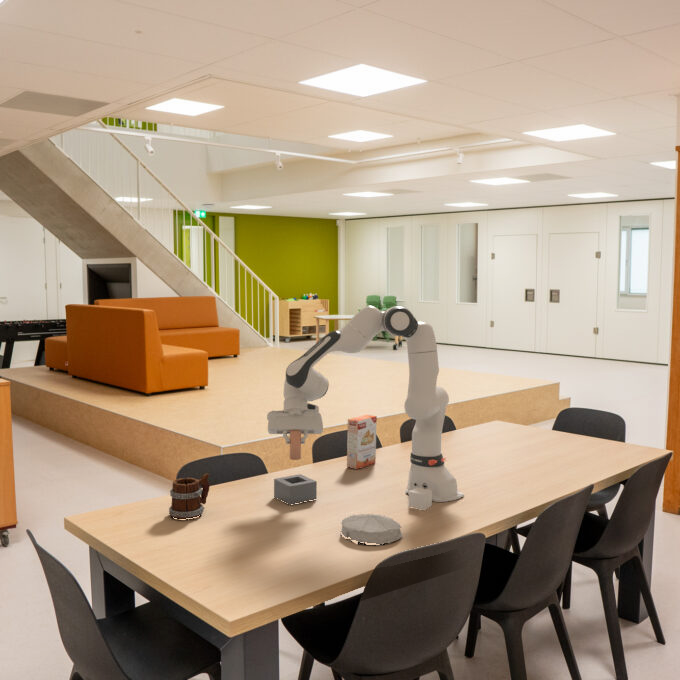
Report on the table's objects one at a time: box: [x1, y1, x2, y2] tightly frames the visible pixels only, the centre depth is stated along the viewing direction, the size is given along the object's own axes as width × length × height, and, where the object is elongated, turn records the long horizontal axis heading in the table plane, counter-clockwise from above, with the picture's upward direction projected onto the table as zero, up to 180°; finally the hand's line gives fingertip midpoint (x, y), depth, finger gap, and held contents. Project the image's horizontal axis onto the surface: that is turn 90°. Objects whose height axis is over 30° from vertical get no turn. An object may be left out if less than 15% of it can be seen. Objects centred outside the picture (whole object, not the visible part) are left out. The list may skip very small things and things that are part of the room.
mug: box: [168, 472, 211, 519], centre depth 241 cm, size 12×14×15 cm
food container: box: [340, 513, 403, 545], centre depth 224 cm, size 20×20×7 cm
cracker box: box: [346, 414, 378, 470], centre depth 303 cm, size 14×6×21 cm, turn 143°
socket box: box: [273, 473, 318, 506], centre depth 258 cm, size 11×11×7 cm
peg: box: [289, 430, 302, 461], centre depth 257 cm, size 4×4×10 cm
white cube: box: [408, 487, 433, 511], centre depth 250 cm, size 6×6×6 cm
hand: (295, 442), depth 256 cm, fingers closed on peg, 4 cm apart
